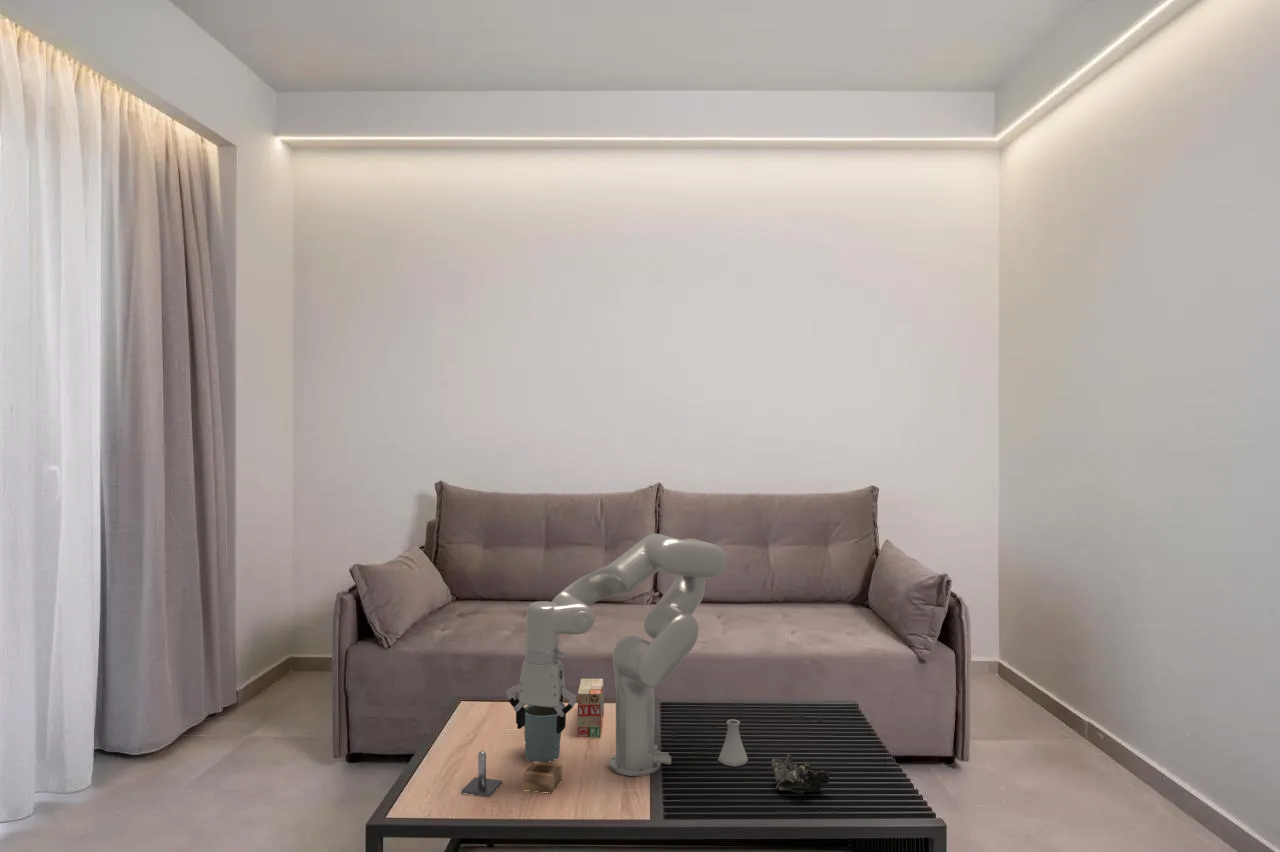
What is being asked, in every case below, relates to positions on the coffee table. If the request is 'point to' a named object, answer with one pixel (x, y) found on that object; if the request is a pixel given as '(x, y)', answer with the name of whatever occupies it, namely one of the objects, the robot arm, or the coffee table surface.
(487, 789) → the peg stand
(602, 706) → the stack of blocks
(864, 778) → the coffee table surface
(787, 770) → the mineral specimen
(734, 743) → the flask
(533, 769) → the square wooden ring
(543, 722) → the teal cup
